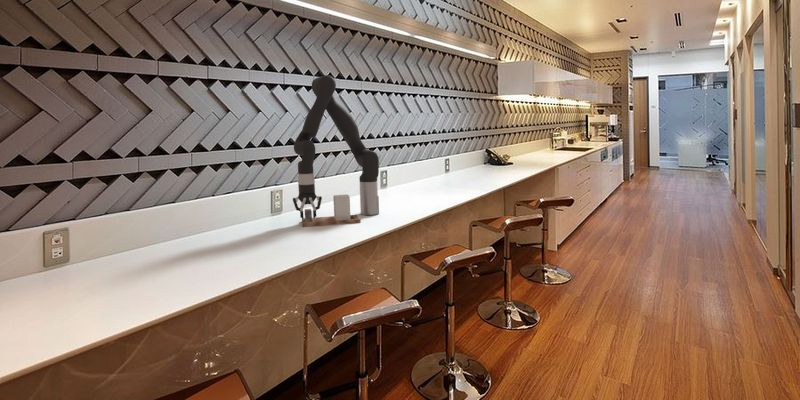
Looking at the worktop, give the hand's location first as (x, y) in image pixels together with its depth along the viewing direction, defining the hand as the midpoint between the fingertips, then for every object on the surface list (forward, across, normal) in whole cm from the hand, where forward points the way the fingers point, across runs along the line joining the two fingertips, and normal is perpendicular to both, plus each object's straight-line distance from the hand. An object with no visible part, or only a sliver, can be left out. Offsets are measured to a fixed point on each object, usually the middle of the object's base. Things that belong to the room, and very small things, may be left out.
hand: (308, 218), depth 210 cm
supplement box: (+3, -16, -1) cm, 17 cm away
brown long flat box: (+3, -10, 0) cm, 11 cm away
